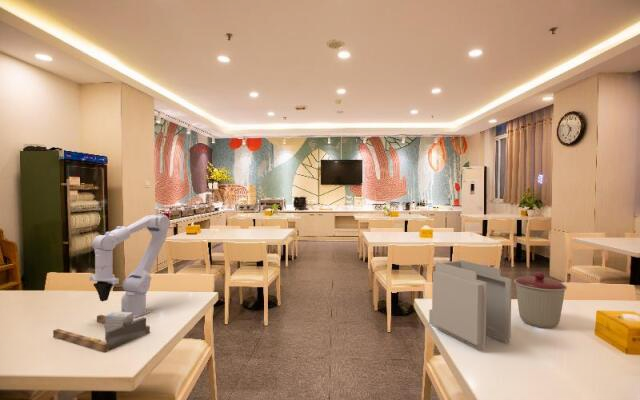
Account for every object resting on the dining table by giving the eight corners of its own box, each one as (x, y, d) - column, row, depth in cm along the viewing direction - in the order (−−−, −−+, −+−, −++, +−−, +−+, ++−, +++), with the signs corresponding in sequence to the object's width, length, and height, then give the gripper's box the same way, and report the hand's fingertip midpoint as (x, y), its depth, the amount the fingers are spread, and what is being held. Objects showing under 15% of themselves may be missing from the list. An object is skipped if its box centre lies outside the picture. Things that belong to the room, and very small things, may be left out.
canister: (560, 319, 141) (561, 270, 141) (571, 335, 125) (572, 279, 124) (511, 312, 149) (512, 265, 148) (515, 327, 132) (516, 274, 132)
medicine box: (133, 335, 122) (133, 312, 122) (125, 341, 117) (125, 316, 117) (113, 334, 122) (113, 311, 122) (104, 339, 118) (104, 315, 118)
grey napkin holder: (454, 318, 141) (455, 257, 141) (514, 344, 117) (515, 270, 116) (423, 325, 134) (423, 260, 133) (479, 354, 110) (480, 275, 109)
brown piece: (53, 337, 120) (53, 317, 119) (100, 320, 135) (100, 303, 135) (105, 352, 108) (105, 330, 108) (150, 332, 124) (150, 313, 124)
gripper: (81, 266, 129) (81, 300, 130) (106, 269, 124) (106, 306, 124) (99, 262, 136) (99, 295, 136) (123, 266, 130) (123, 300, 130)
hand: (104, 300), depth 130 cm, fingers closed
